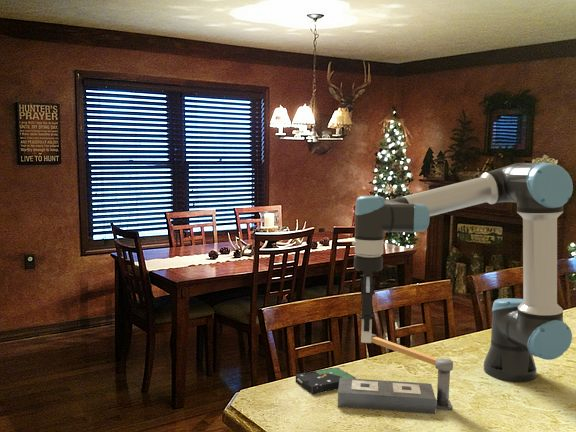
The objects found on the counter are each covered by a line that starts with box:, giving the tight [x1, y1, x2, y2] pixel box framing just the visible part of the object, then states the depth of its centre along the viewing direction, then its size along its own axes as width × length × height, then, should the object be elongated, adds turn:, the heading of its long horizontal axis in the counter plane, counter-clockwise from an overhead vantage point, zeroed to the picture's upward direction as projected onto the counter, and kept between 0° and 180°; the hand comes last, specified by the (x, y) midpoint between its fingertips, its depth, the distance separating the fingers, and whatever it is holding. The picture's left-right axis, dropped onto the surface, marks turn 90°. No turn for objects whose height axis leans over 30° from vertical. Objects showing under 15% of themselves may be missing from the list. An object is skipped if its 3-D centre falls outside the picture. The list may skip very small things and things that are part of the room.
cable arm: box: [370, 333, 454, 372], centre depth 154 cm, size 30×4×2 cm, turn 38°
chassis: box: [337, 378, 437, 415], centre depth 147 cm, size 25×10×4 cm, turn 82°
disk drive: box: [295, 367, 357, 395], centre depth 159 cm, size 10×3×15 cm
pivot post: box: [435, 369, 453, 411], centre depth 145 cm, size 4×4×10 cm
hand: (366, 341), depth 146 cm, fingers closed
